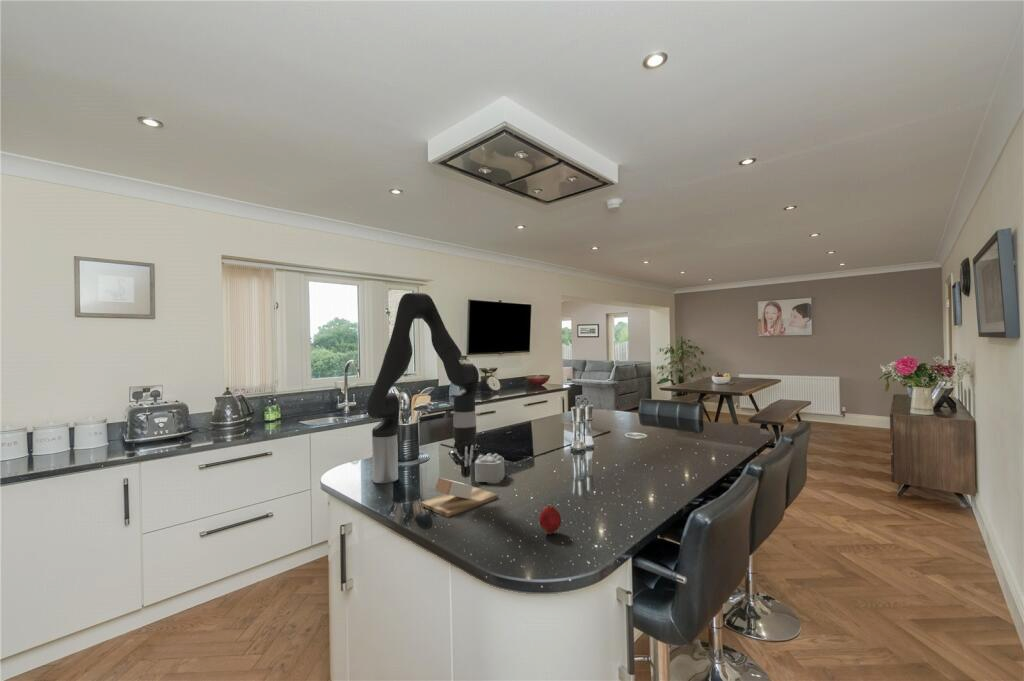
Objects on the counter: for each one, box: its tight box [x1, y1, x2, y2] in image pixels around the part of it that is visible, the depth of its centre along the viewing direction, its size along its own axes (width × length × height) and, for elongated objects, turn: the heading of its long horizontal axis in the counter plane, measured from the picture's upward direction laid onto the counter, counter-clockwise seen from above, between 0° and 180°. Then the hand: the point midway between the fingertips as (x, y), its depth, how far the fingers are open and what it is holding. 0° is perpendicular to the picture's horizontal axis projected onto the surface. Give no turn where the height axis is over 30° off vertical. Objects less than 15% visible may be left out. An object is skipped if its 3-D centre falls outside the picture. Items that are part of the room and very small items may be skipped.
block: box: [434, 477, 474, 499], centre depth 139 cm, size 6×4×10 cm
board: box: [419, 486, 499, 518], centre depth 141 cm, size 14×21×1 cm, turn 137°
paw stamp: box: [474, 452, 505, 484], centre depth 166 cm, size 10×13×9 cm
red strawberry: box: [538, 503, 562, 535], centre depth 116 cm, size 6×6×8 cm
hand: (465, 476), depth 143 cm, fingers closed
